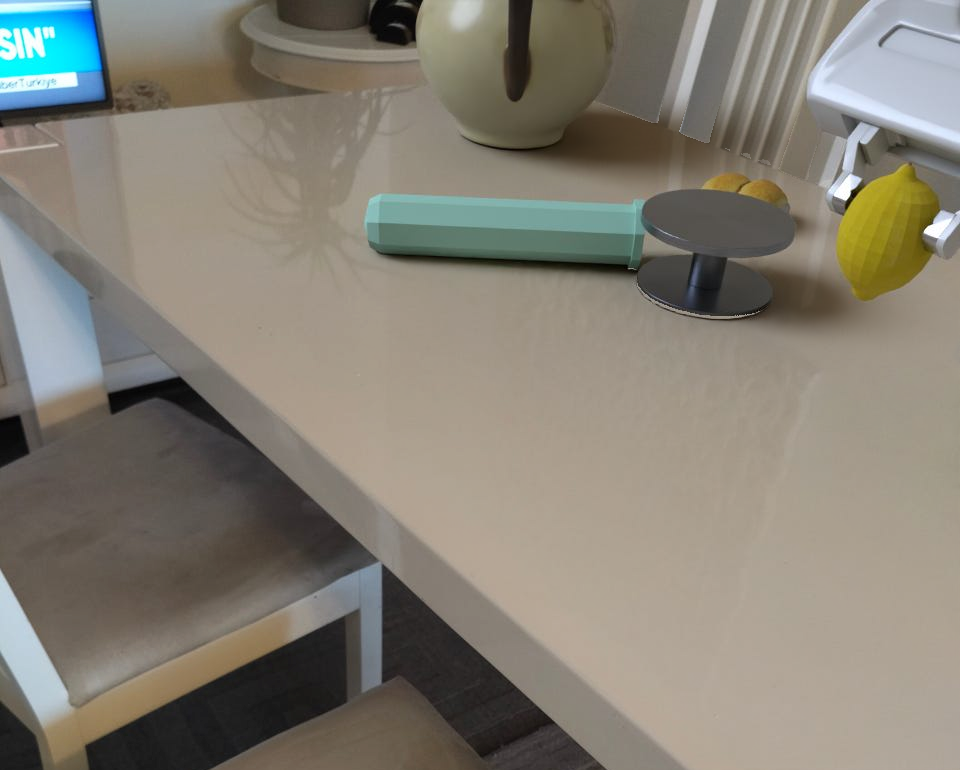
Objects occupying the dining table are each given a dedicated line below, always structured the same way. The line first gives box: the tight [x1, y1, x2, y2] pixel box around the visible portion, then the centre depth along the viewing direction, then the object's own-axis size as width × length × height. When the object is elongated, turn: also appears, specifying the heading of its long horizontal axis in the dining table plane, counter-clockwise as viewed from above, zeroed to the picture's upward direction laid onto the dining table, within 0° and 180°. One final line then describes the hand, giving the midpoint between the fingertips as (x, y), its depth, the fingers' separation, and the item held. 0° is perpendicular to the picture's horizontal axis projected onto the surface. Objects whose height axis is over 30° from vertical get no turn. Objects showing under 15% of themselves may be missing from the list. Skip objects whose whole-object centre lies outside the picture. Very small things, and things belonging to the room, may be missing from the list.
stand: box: [636, 188, 797, 316], centre depth 85 cm, size 13×13×6 cm
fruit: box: [835, 162, 941, 302], centre depth 57 cm, size 6×6×8 cm
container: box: [363, 192, 646, 270], centre depth 88 cm, size 6×6×25 cm
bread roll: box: [700, 172, 791, 215], centre depth 98 cm, size 8×9×4 cm
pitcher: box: [415, 0, 618, 150], centre depth 106 cm, size 22×24×25 cm
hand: (882, 228), depth 57 cm, fingers closed on fruit, 5 cm apart
